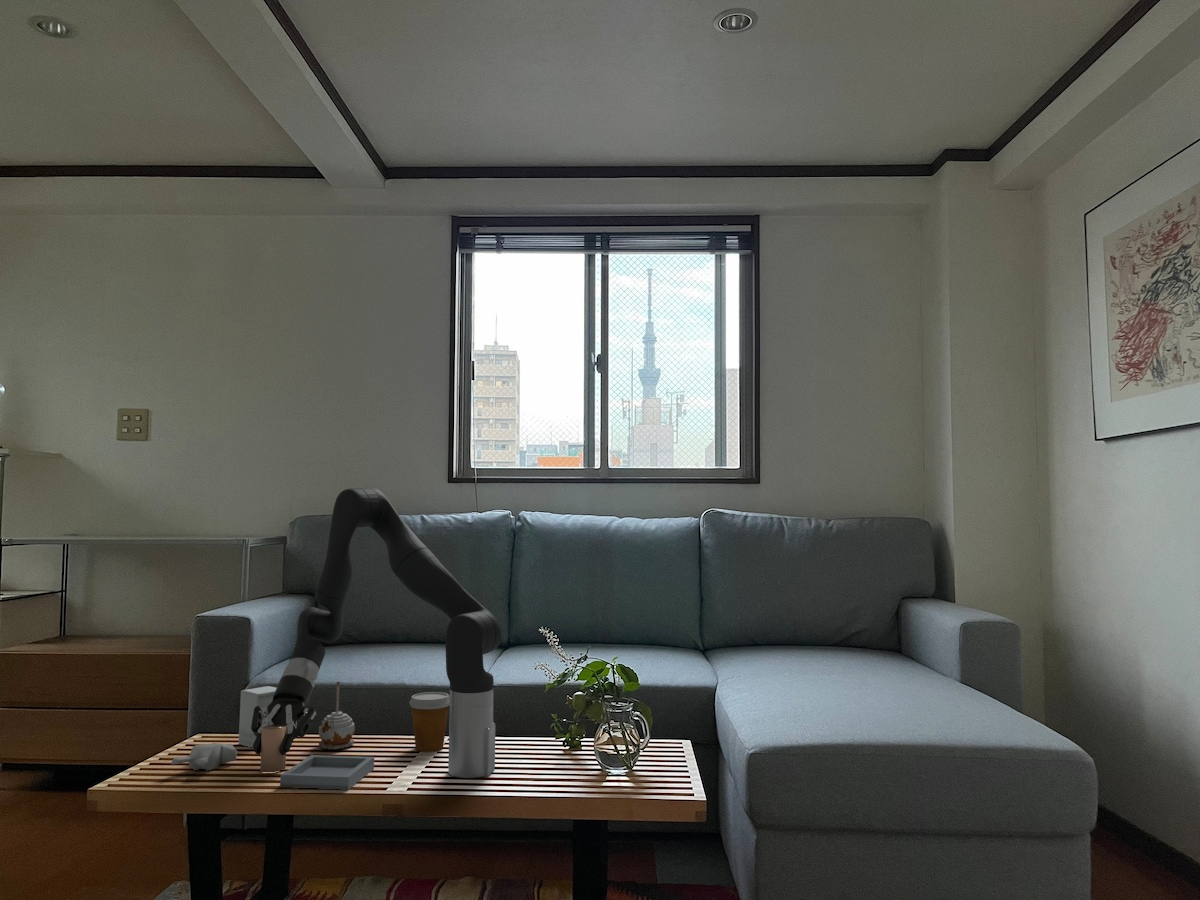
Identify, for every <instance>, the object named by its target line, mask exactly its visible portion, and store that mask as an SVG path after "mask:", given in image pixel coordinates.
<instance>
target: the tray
mask: <svg viewBox="0 0 1200 900" xmlns="http://www.w3.org/2000/svg"><path fill="white" fill-rule="evenodd" d="M374 769H375V756H356V755H355V756H351V755H350V756H349V755H348V756H347V755H324V754H323V755H318V754H317V755H316V754H311V755H309V756H308V757H305V759H303V760H302V761H299V763H297V764H295V765H293V766H292V767H291V768H289V769H288V770H285V772H284V771H283V773H281V774H279V775H280V780H279V781H280V782H279V788H280V787H305V788H319V789H318V790H327V789H339V790H338V791H350V790H351V789H352V788H353V787H354V786H355V785H356V784H358V783H359V782H360V781H362V778H363V777H364V776H365V777H366V776H368V775H369V774H370V773H371V772H372V771H373V770H374ZM369 772H370V773H369ZM368 773H369V774H368ZM365 777H364V778H365ZM364 778H363V779H364ZM357 782H358V783H357ZM351 787H352V788H351ZM340 789H341V790H340Z"/></svg>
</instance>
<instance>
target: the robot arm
mask: <svg viewBox="0 0 1200 900" xmlns="http://www.w3.org/2000/svg"><path fill="white" fill-rule="evenodd" d="M365 527H369V528H370V529H372V530H373V531H374V532H375V533H377V535H378V536H379V537H380V538H381V539H382V540H383V542H384V543H385V546H386V548H387V555H388V563H389V566H390V568H391V571H392V572H393V574H394V575H395V576H396V577H397V579H398V580H399V581H400V582H401V583H402V584H403V586H404V587H405V588H406V589H407V590H409V592H411V594H413V595H415V596H416V597H417V598H419V599H421V600H422V601H424V602H426V603H428V604H429V605H430V606H432V607H435V608H436V609H438V610H439V611H441V612H442V613H443V614H445V615H446V616H447V617H448V618H449V619H450V621H449V623H448V625H447V628H446V631H445V643H444V644H445V670H446V676H447V679H448V682H449V698H450V705H449V708H448V717H449V719H448V761H447V763H448V772H447V773H448V774H449V775H450V776H451V777H455V778H461V779H463V778H464V779H473V778H481V777H482V778H483V777H489V776H490V775H491V774H492V772H493V771H494V769H495V768H496V765H495V764H496V723H495V722H494V685H495V684H494V683H495V682H494V675H493V674H492V673H491V672H488V671H486V670H485V668H484V667H485V666H484V655H485V654H489V653H491V652H493V651H495V650H496V649H497V648H498V647H499V646H500V644H501V643H502V642H501V641H502V636H503V635H502V628H501V625H500V623H499V621H498V619H497V618H496V617H495V615H494V614H493V613H491V611H489V610H488V609H487V608H486V607H485V606H483V605H482V604H481V603H480V602H479V601H478V600H477V599H475V597H474V596H472V594H470V593H469V592H468V591H467V590H466V589H465V588H464V587H463V586H462V585H461V584H460V582H459V581H458V580H457V579H456V578H455V577H454V575H453V574H451V573H450V572H449V570H448V569H446V567H445V566H444V565H443V564H442V563H441V561H440V560H439V559H438V558H437V556H436V555H435V554H434V553H433V552H432V551H431V550H430V549H429V547H427V546H426V545H425V544H424V542H422V541H421V540H420V539H419V537H418V536H417V534H415V533H414V531H412V529H411V528H410V527H409V525H408V524H407V523H406V522H405V520H403V519H402V517H401V516H400V515H399V513H398V512H397V510H396V509H395V507H394V506H393V505H392V503H391V502H390V500H389V498H388V497H387V496H386V495H385V493H383V492H382V491H381V490H379V489H377V488H375V487H369V486H368V487H356V488H355V487H353V488H346V489H344V490H341V492H340V493H339V494H338V495H337V497H336V499H335V502H334V505H333V511H332V516H331V523H330V530H329V534H328V543H327V548H326V549H327V550H326V555H325V560H324V564H323V568H322V570H321V571H322V572H321V574H320V577H319V581H318V583H317V587H316V589H315V592H314V599H315V602H317V603H318V604H319V605H321V606H322V607H324V608H326V609H327V610H329V611H327V610H324V609H322V608H321V609H320V608H318V607H313V606H308V607H307V608H304V609H303V610H302V611H301V612H300V614H299V616H298V620H297V624H296V625H297V628H296V629H297V630H296V641H295V645H294V648H293V650H292V653H291V656H290V658H289V661H288V663H287V664H286V666H285V667H284V669H283V672H282V674H281V677H280V679H279V680H278V683H277V686H276V691H275V693H274V696H273V700H272V702H271V703H270V704H269V705H268V707H264V708H260V707H259V706H256V707H255V708H254V713H253V719H252V725H251V730H252V731H253V733H254V735H255V736H257V737H256V739H255V742H254V744H253V748H252V749H253V751H254V753H255V755H261V735H262V727H263V726H266V725H272V724H284V725H287V734H285V736H284V738H283V741H282V744H281V746H280V749H279V752H280V753H281V755H286V756H287V753H289V752H290V751H291V748H292V746H293V745H292V744H293V742H294V740H295V739H297V738H304V737H305V736H306V734H307V733H308V731H309V729H310V728H311V726H312V725H313V723H314V722H315V720H316V719H317V716H318V714H317V712H316V709H315V708H314V707H312V706H311V707H308V708H307V706H308V704H309V700H310V698H311V697H312V693H313V691H314V688H315V686H316V683H317V680H318V675H319V672H320V669H321V666H322V664H323V661H324V659H325V655H326V648H325V646H324V645H323V644H321V643H320V642H319V641H321V642H324V643H328V644H333V643H334V642H336V641H337V640H339V639H340V637H341V636H342V633H343V628H344V606H345V602H346V597H347V595H348V591H349V587H350V585H351V582H352V579H353V569H354V568H353V563H352V556H351V552H350V550H351V549H350V545H351V541H352V539H353V536H354V533H355V531H356V529H357V528H358V529H359V528H365ZM267 713H268V714H269V715H268V716H267V718H266V719H265V720H264V723H263V725H262V719H264V718H265V715H266V714H267ZM300 718H302V719H301V721H300V722H299V724H298V723H297V722H298V720H299V719H300ZM271 721H272V723H271ZM297 724H298V725H297ZM261 725H262V726H261Z"/></svg>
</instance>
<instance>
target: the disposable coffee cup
mask: <svg viewBox="0 0 1200 900" xmlns="http://www.w3.org/2000/svg"><path fill="white" fill-rule="evenodd" d="M409 704H410V707H411V715H412V717H411V718H412V723H413V724H412V725H413V735H414V737H413V738H414V743H415V745H414V746H415V750H416V751H418V752H421V753H432V751H433V752H437V751H438V752H439V751H441V750H443V749H444V743H445V736H446V728H447V721H448V717H449V707H450V694H448V693H447V692H440V691H438V692H437V691H429V692H428V691H427V692H420V693H419V692H418V693H416V694H413V695H412V696H411V699H410V700H409ZM442 748H443V749H442Z"/></svg>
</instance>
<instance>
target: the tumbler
mask: <svg viewBox="0 0 1200 900" xmlns="http://www.w3.org/2000/svg"><path fill="white" fill-rule="evenodd" d="M285 734H287V725H284V724H272V725H266V726H263V727H262V735H261V754H260V767H259V768H260V771H261V772H275V771H280V770H283V769H285V768H287V767H286V765H287V763H286V762H287V754H286V755H281V753H280V752H279V749H280V746H281V744H282V741H283V738H284V736H285ZM285 770H286V769H285ZM260 771H259V772H260ZM261 772H260V773H261Z"/></svg>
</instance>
